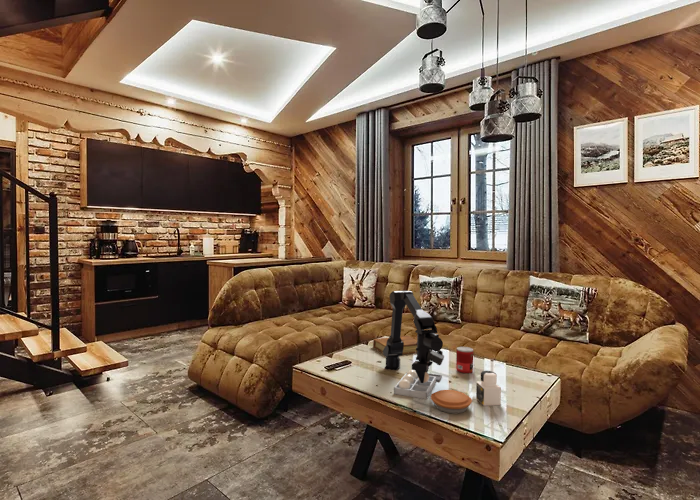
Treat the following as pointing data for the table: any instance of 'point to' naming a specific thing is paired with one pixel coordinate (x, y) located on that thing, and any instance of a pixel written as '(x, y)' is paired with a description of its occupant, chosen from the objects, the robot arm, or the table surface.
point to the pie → (451, 401)
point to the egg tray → (417, 388)
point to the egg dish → (438, 377)
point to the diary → (409, 342)
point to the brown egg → (425, 377)
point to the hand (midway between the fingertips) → (423, 380)
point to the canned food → (464, 359)
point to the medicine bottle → (488, 389)
